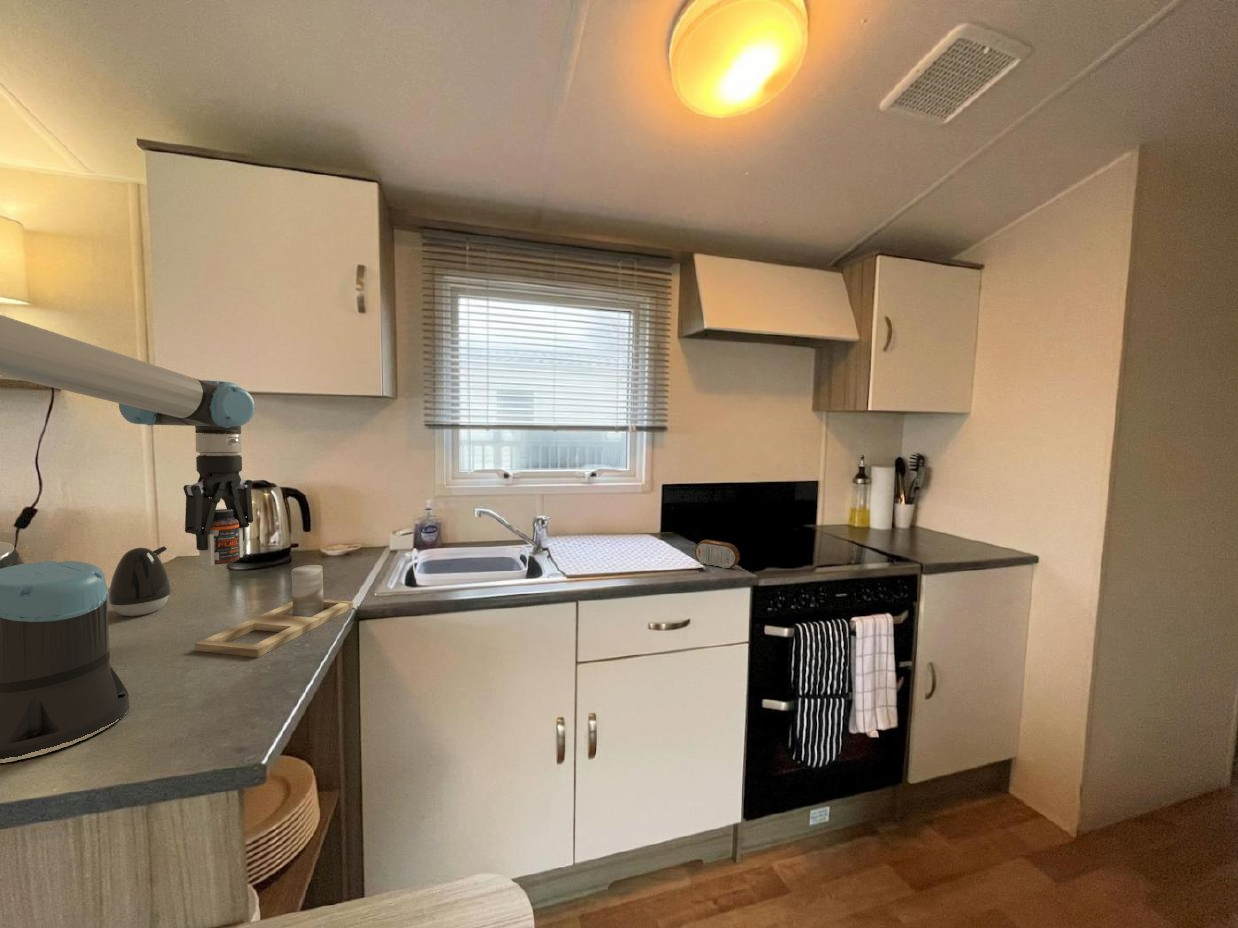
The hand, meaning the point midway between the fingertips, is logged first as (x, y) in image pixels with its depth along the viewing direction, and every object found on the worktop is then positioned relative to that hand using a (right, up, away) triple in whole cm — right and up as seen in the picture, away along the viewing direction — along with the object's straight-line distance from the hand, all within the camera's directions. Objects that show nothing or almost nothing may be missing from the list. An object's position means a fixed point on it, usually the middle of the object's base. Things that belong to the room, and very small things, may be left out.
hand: (222, 560), depth 104 cm
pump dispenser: (-25, -14, +8) cm, 30 cm away
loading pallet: (+13, -15, +1) cm, 19 cm away
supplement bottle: (0, 0, 0) cm, 1 cm away
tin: (+119, -14, +56) cm, 132 cm away
